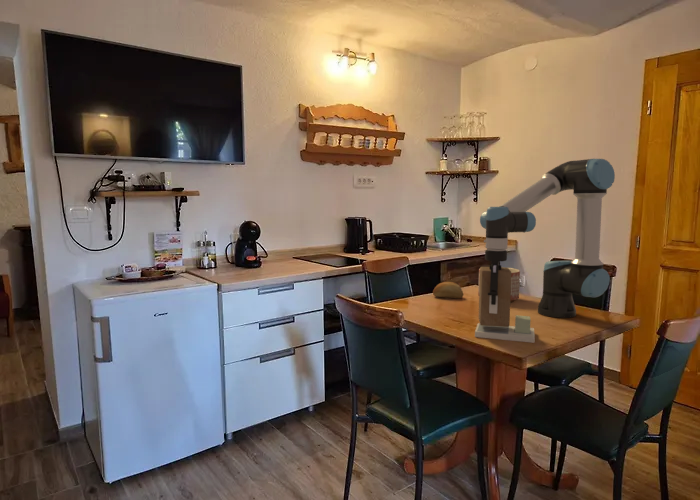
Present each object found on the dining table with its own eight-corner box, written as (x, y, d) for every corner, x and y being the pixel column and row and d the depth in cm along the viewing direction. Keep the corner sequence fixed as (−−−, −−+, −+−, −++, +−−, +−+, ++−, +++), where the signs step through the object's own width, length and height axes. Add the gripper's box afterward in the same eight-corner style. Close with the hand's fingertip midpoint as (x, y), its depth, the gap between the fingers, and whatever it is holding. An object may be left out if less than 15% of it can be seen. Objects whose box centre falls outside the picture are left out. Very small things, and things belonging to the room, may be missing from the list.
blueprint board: (533, 333, 171) (533, 327, 171) (534, 342, 160) (534, 336, 160) (477, 328, 178) (477, 322, 178) (474, 336, 167) (474, 331, 167)
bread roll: (433, 294, 240) (433, 279, 239) (463, 296, 237) (463, 281, 236) (432, 298, 231) (432, 283, 230) (462, 300, 227) (463, 284, 226)
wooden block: (509, 327, 164) (511, 271, 162) (480, 325, 166) (481, 270, 164) (505, 320, 174) (507, 267, 172) (478, 318, 176) (479, 266, 174)
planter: (524, 298, 230) (526, 269, 229) (509, 305, 216) (510, 274, 214) (488, 293, 243) (489, 265, 241) (471, 299, 229) (472, 269, 227)
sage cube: (529, 329, 168) (530, 316, 168) (529, 333, 164) (530, 319, 163) (515, 328, 170) (515, 315, 169) (514, 332, 165) (515, 318, 165)
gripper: (487, 246, 179) (485, 302, 181) (482, 252, 157) (480, 316, 160) (507, 246, 176) (505, 303, 179) (506, 253, 155) (503, 318, 157)
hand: (494, 309), depth 169 cm, fingers closed on wooden block, 10 cm apart
